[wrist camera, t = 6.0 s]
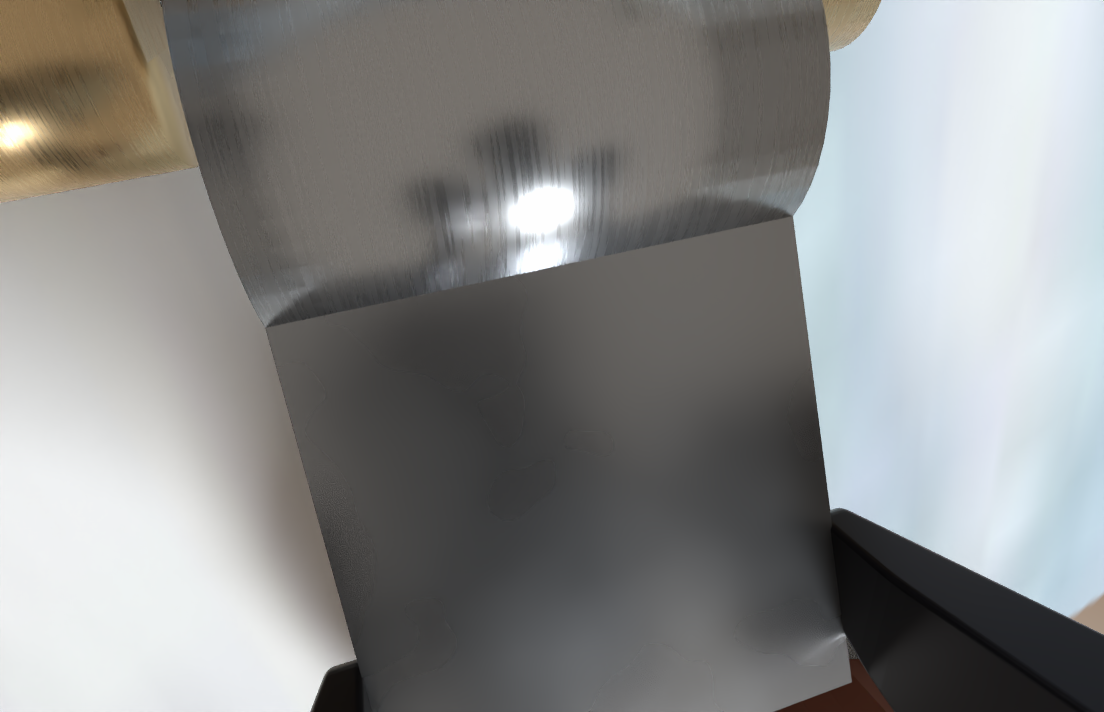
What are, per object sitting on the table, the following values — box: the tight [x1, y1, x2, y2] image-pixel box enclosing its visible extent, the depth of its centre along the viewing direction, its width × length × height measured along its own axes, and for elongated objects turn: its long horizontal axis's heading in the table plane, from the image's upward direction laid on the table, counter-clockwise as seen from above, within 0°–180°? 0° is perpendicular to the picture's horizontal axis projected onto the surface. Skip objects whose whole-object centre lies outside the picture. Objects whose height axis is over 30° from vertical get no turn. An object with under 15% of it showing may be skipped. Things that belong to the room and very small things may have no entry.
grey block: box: [162, 0, 852, 712], centre depth 9 cm, size 10×6×4 cm, turn 5°
